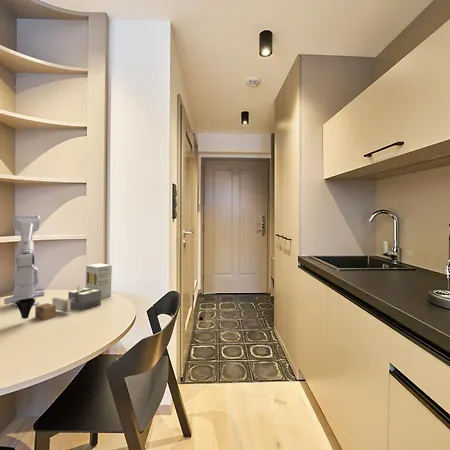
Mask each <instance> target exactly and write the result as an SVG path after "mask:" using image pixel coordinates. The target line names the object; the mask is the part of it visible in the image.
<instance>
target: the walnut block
mask: <svg viewBox="0 0 450 450" xmlns="http://www.w3.org/2000/svg"><path fill="white" fill-rule="evenodd" d="M34 306H35V307H34V310H35V313H34V314H35V315H34V317H35V318H36V319H39V320H42V321H45V320H46V321H47V320H49V319H53V318H56V317H57V316H56V315H57V312H56V305H52V303H48V302H46V303H42V304H36V305H34Z"/></svg>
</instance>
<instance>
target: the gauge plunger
mask: <svg viewBox="0 0 450 450" xmlns="http://www.w3.org/2000/svg"><path fill="white" fill-rule="evenodd" d="M76 287H77V288H76V290H77V297H78V293H80V289H81V286H80V285H78V286H76ZM77 297H74V298H70V299H68V298H67V299H64V298H60V297H53V298H51V299H52V301H51V302H52V303H51V304H52V305H56V310H57V311H61V312H66V313H69V312H71V310H72V309H71V308H72V307H71V303H73V302H76V301H77Z"/></svg>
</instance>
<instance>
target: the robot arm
mask: <svg viewBox="0 0 450 450" xmlns="http://www.w3.org/2000/svg"><path fill="white" fill-rule="evenodd" d="M13 228H14V230H15V231H16V232H20V240H19V241H18V242H17V252H16V253H17V254H16V255H15V265H14V266H15V270H14V276H13V285H14V286H15V287H14V288H13V290H12V291H13V293H12V294H13V295H12V296H10V297H6V298H3V304H5V305H10V304H11V306H15V307H17V308H18V310H19V313H20V316H21V319H23V320H26V319H29V316H30V314H31V310H32V307H33V306H37V305H40V302H38V301H36V298H40V297H45V291H43V290H40V291H36V289H37V287H36V285H38V284H39V280H40V278H39V276H40V272H39V268H38V267H37V266H36V254H35V242H34V241H33V234H34V232H37V231H39V229H40V215H39V214H16V213H15V214H14V215H13Z"/></svg>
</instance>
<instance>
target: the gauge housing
mask: <svg viewBox="0 0 450 450" xmlns="http://www.w3.org/2000/svg"><path fill="white" fill-rule="evenodd" d="M67 297H68V298H67V299H70V298H74V297H77V289H75V290H71V291H70V290H69V291H68V296H67ZM101 305H102V298H101V290H96V289H91V288H86V287H84V288H80V293H78V297H77V301H76V302H73V303H71V308H72V309H77V310H80V311H81V310H82V311H85V310H89V309H91V308H95V307H98V306H101Z"/></svg>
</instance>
